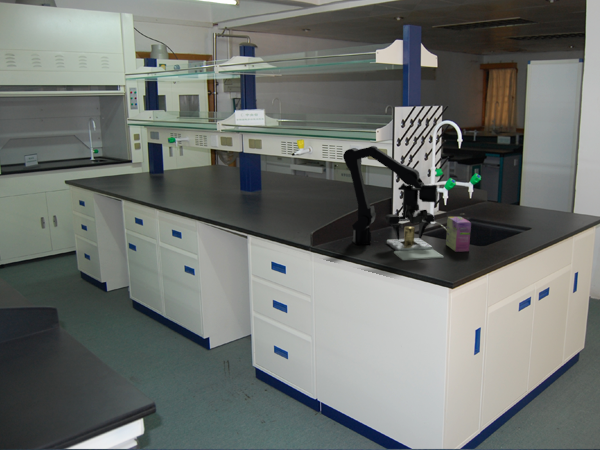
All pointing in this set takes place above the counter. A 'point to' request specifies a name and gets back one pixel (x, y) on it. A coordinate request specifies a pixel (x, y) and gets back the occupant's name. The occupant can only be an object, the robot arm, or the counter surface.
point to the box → (458, 234)
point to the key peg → (409, 235)
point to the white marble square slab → (400, 246)
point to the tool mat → (418, 254)
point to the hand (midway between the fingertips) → (409, 239)
